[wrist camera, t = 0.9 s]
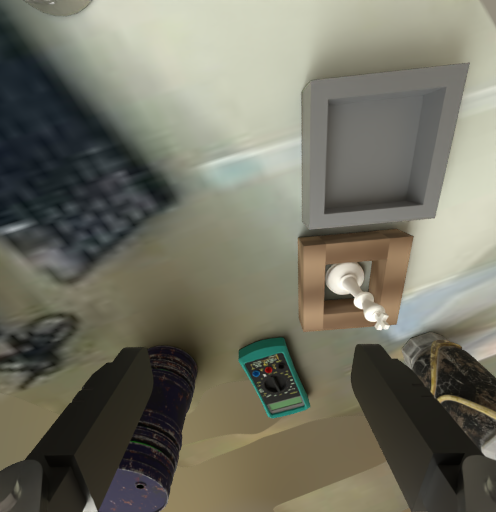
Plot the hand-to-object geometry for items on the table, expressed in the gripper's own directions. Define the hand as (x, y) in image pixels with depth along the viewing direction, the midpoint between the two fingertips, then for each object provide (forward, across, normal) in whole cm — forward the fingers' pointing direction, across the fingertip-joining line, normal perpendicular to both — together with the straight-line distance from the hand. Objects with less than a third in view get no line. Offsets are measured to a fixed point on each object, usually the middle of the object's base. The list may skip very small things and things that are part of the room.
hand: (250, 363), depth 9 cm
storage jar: (+22, +14, +22) cm, 34 cm away
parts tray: (+20, -12, -8) cm, 25 cm away
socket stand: (+21, -12, +6) cm, 25 cm away
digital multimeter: (+22, -4, +24) cm, 33 cm away
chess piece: (+21, -12, +6) cm, 25 cm away
